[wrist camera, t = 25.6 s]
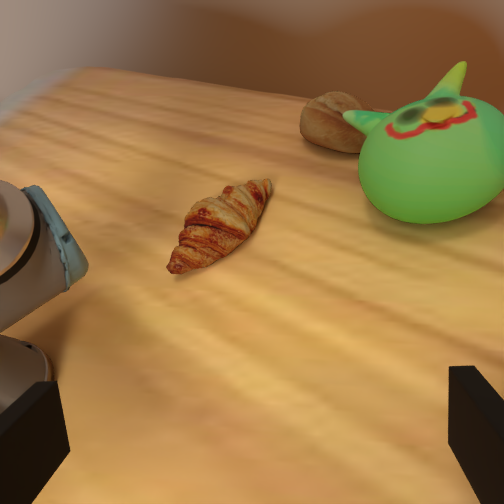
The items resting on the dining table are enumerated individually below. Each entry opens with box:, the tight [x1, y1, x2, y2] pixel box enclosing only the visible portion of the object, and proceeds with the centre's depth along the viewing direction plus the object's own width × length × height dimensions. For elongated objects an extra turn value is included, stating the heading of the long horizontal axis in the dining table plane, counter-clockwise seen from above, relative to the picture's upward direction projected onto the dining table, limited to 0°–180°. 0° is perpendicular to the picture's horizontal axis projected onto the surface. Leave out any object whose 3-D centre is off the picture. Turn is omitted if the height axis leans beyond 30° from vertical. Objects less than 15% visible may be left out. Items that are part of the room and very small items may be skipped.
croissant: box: [166, 179, 272, 274], centre depth 66 cm, size 21×10×8 cm, turn 138°
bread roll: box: [300, 91, 374, 153], centre depth 72 cm, size 10×15×8 cm, turn 44°
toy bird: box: [342, 61, 504, 224], centre depth 55 cm, size 18×17×15 cm
